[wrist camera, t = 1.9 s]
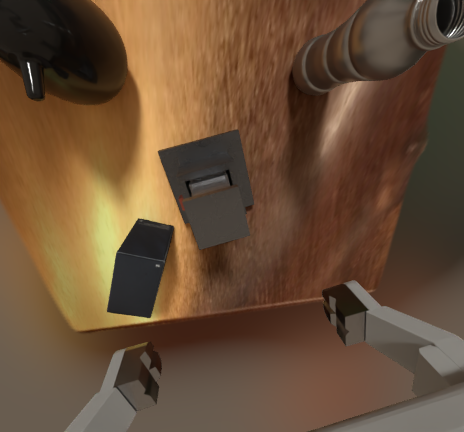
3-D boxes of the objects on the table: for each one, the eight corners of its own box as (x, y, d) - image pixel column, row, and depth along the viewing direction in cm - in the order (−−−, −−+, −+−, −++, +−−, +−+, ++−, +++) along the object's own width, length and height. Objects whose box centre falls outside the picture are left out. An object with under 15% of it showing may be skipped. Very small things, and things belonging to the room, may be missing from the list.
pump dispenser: (65, 111, 29) (-53, 104, 15) (30, 10, 25) (-177, -125, 11) (144, 106, 30) (99, 94, 16) (123, 8, 26) (40, -118, 12)
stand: (159, 150, 33) (145, 161, 24) (236, 129, 33) (250, 132, 24) (185, 220, 38) (181, 249, 29) (252, 201, 38) (268, 225, 30)
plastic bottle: (310, 107, 33) (445, 91, 15) (277, 76, 31) (390, 15, 13) (340, 66, 32) (530, -5, 14) (307, 30, 29) (484, -112, 11)
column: (188, 168, 33) (182, 202, 19) (221, 159, 33) (238, 186, 20) (198, 200, 35) (199, 249, 22) (230, 191, 35) (250, 235, 22)
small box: (135, 216, 36) (113, 250, 27) (175, 225, 38) (167, 260, 28) (126, 267, 40) (103, 314, 30) (162, 273, 42) (152, 319, 32)
